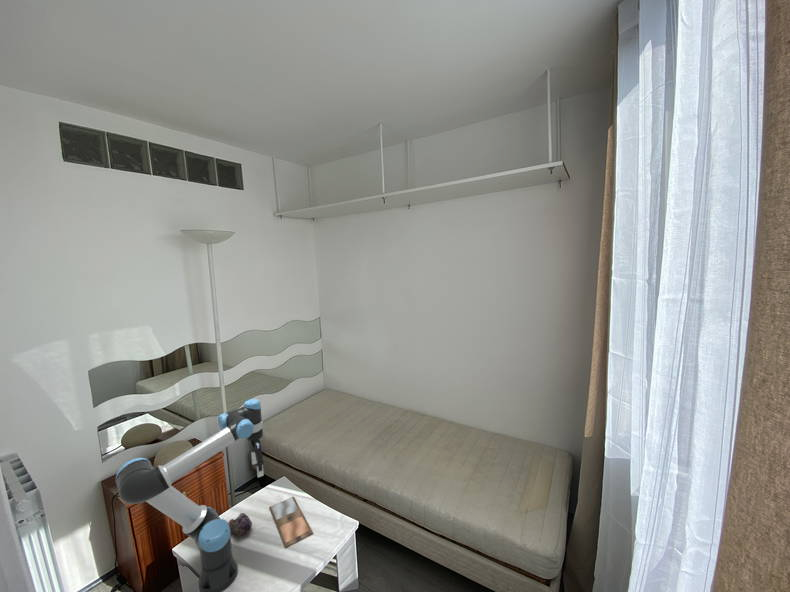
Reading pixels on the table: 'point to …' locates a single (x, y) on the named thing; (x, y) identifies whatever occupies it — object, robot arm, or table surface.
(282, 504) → the board
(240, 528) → the rock
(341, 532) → the table surface
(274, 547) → the table surface
